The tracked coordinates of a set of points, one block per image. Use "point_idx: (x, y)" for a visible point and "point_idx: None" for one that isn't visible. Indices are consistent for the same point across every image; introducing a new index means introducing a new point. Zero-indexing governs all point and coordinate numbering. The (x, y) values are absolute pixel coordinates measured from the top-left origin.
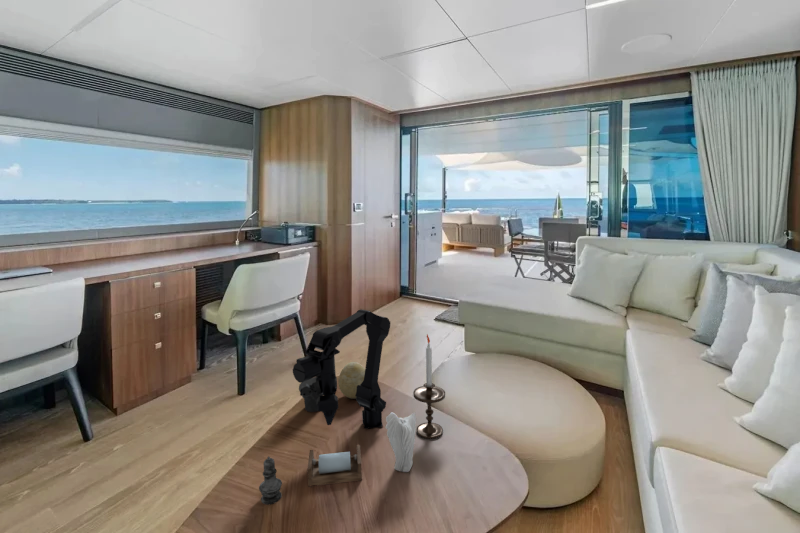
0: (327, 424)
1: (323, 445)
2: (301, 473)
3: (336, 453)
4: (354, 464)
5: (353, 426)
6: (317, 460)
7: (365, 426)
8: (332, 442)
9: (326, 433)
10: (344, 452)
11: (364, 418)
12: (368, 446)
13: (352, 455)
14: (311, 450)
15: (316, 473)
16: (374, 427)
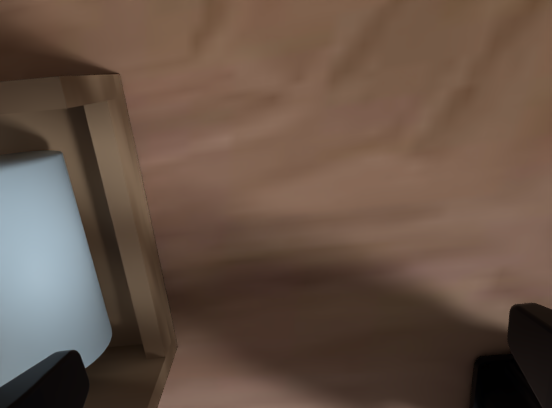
0: (50, 358)
1: (346, 128)
2: (39, 19)
3: (9, 307)
4: (118, 332)
5: (525, 295)
6: (97, 130)
7: (490, 366)
8: (371, 184)
9: (493, 130)
10: (29, 357)
11: (536, 397)
12: (298, 376)
13: (159, 335)
14: (53, 93)
15: (14, 132)
16: (470, 403)
